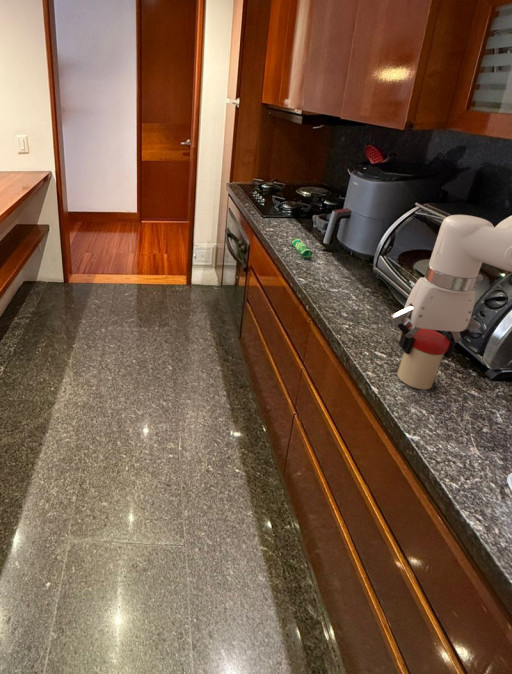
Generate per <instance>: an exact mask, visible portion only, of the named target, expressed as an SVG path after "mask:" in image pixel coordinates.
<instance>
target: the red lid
mask: <svg viewBox="0 0 512 674" xmlns="http://www.w3.org/2000/svg"><path fill="white" fill-rule="evenodd" d="M413 338H414V343H413V347H415V348H417V349H419V350H421V351H423V352H426V353H430V354H436V355H441V354H445V353H446V352H447V351H448V348H449V344H450V342H449V340H448V339H447V338H446V337H445V336H444V334H442V333H441V332H438V331H437V330H429V329H420V330H419V331H418V332H417V333H416V334H415V335H414V336H413Z"/></svg>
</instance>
